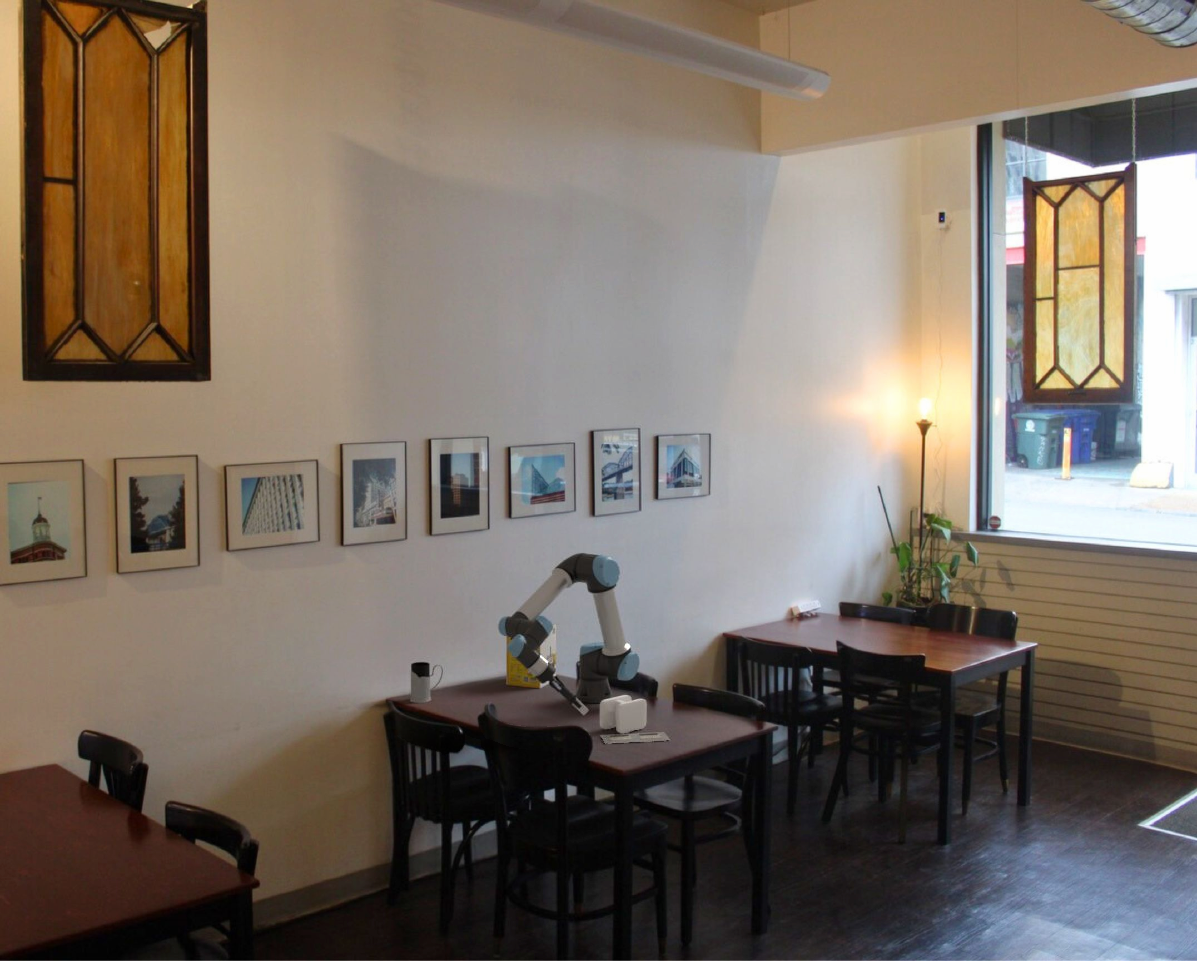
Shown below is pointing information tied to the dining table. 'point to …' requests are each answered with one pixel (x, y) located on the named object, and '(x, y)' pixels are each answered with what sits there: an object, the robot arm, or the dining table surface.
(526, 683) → the packaging box
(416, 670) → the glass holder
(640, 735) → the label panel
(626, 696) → the cable organizer
